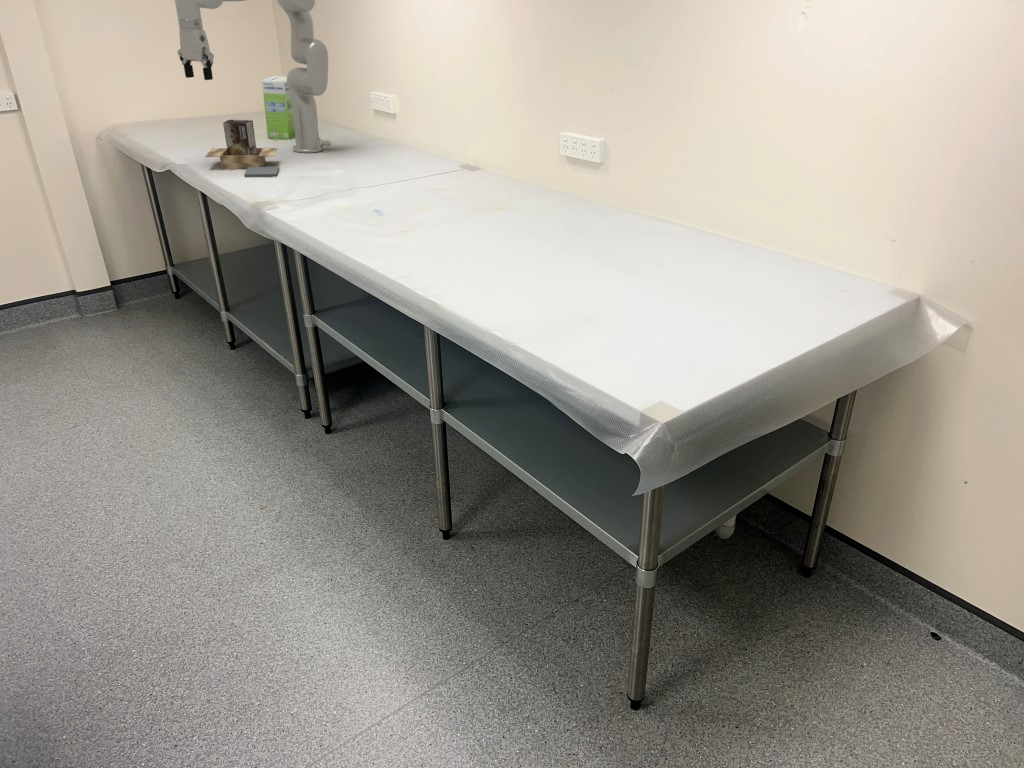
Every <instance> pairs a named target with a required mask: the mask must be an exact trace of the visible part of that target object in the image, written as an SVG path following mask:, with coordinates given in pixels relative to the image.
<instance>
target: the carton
mask: <svg viewBox="0 0 1024 768" xmlns="http://www.w3.org/2000/svg"><path fill="white" fill-rule="evenodd" d="M256 149H257V155H246V156H228V151H227V147H224V148H222V147H220V148H219V147H217V148H215V147H214V148H213V147H212V148H210V150H209V151H208V152H207V153H206V155H205V158H213V157H214V158H219V159H220V160H219V161H220V166H221V167H220V168H221V170H222V169H248V167H264V165H265V163H266V157H274V156H275V155H276V153H277V151H278V147H264V148H263V147H256Z"/></svg>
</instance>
